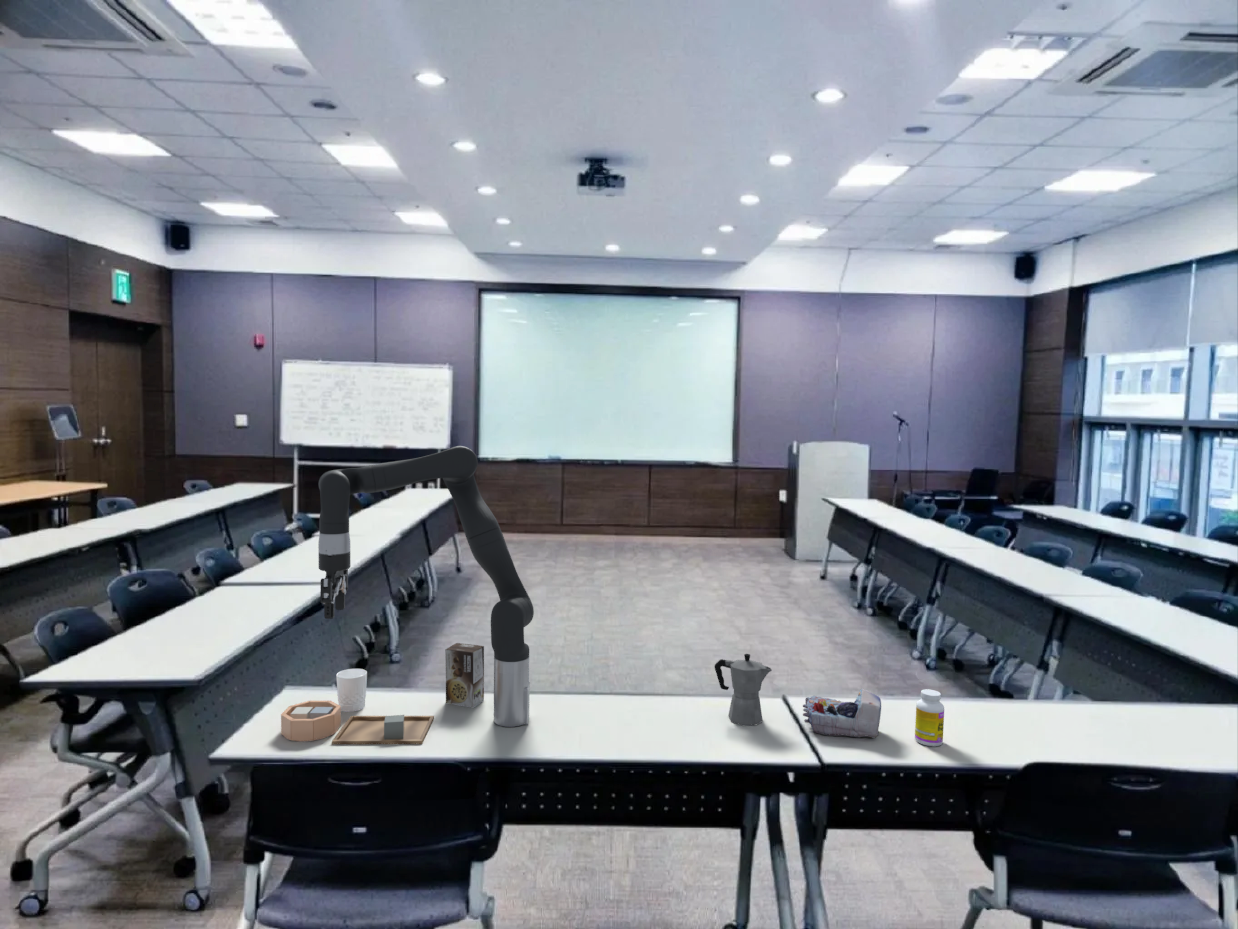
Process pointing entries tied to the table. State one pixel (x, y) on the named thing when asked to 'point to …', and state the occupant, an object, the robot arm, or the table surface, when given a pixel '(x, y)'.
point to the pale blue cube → (320, 712)
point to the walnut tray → (382, 730)
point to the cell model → (844, 715)
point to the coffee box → (464, 674)
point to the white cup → (351, 689)
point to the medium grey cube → (394, 727)
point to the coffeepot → (744, 689)
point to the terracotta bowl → (311, 722)
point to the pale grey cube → (301, 713)
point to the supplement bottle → (929, 718)
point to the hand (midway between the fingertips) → (334, 613)
